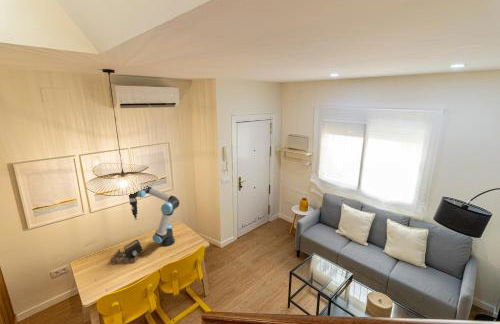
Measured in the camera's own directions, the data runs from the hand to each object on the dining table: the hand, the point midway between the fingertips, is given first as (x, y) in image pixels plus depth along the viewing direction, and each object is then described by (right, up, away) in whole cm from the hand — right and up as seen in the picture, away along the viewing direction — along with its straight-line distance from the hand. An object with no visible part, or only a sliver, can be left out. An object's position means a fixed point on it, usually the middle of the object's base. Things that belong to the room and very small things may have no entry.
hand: (136, 219), depth 279 cm
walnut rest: (-3, -38, -16) cm, 41 cm away
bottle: (-3, -29, -3) cm, 29 cm away
